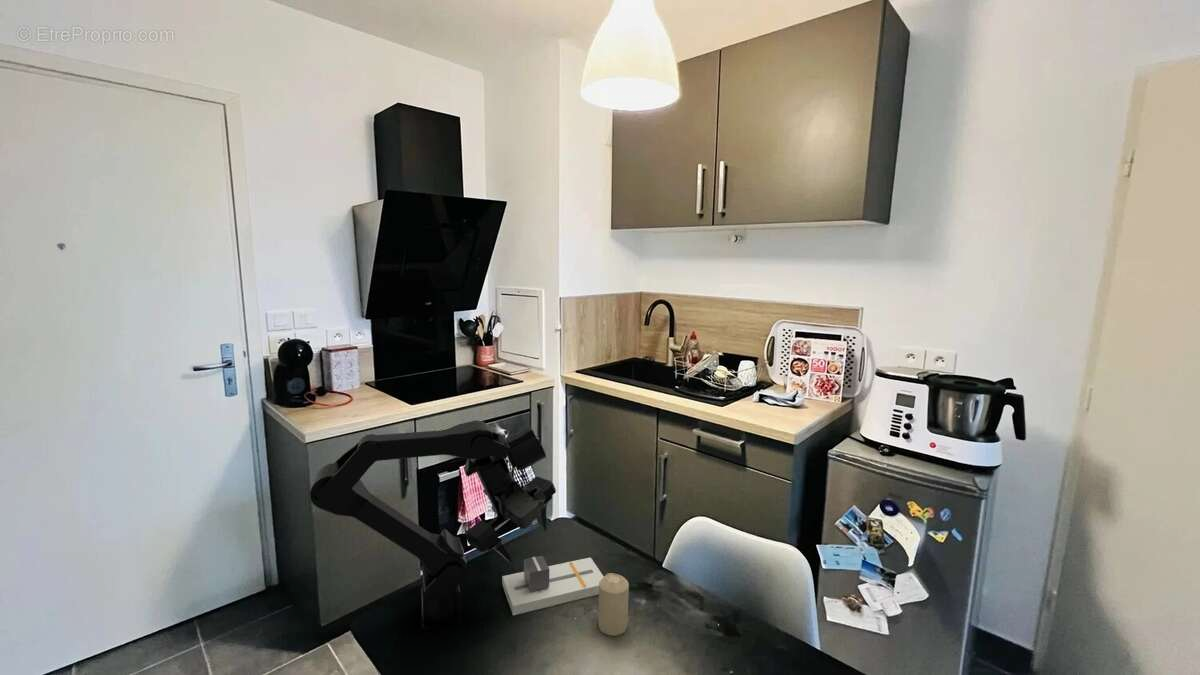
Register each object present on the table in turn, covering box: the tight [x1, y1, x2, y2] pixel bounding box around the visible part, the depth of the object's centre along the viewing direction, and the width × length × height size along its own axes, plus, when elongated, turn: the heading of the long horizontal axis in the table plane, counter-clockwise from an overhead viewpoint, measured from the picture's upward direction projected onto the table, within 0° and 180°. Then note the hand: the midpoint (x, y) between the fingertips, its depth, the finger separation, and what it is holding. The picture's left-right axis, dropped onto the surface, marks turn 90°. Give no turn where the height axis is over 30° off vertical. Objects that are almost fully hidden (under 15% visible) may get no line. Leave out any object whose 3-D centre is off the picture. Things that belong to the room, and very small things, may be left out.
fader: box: [523, 555, 549, 591], centre depth 101 cm, size 4×5×4 cm
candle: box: [597, 572, 630, 637], centre depth 92 cm, size 6×6×10 cm
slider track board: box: [501, 557, 605, 616], centre depth 103 cm, size 20×10×2 cm, turn 113°
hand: (527, 545), depth 99 cm, fingers open, 9 cm apart
